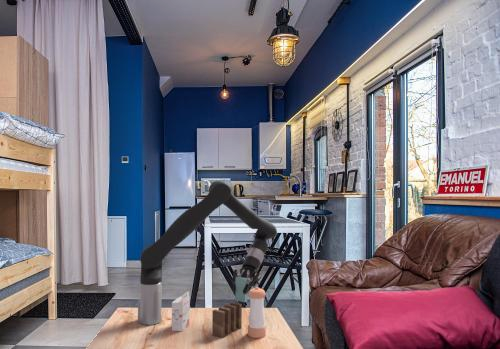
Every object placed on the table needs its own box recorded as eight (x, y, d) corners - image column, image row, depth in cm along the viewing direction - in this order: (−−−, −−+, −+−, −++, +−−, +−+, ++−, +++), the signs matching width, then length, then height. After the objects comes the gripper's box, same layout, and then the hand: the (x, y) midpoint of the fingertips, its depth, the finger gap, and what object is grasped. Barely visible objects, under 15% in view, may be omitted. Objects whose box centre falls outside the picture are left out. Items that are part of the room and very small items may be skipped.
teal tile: (237, 299, 169) (237, 276, 170) (247, 301, 166) (247, 278, 167) (235, 300, 168) (235, 277, 168) (244, 302, 165) (244, 279, 166)
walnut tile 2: (232, 325, 165) (232, 302, 166) (241, 327, 163) (241, 304, 163) (229, 326, 164) (230, 303, 164) (239, 328, 161) (239, 305, 162)
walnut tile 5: (214, 334, 155) (214, 309, 156) (224, 336, 153) (224, 311, 153) (212, 335, 154) (212, 310, 154) (222, 338, 151) (222, 312, 152)
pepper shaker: (251, 339, 150) (252, 290, 151) (245, 332, 157) (245, 285, 158) (268, 336, 153) (268, 288, 154) (261, 330, 160) (261, 284, 161)
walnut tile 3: (226, 328, 162) (226, 304, 163) (236, 330, 159) (236, 306, 160) (224, 329, 161) (224, 305, 161) (233, 331, 158) (234, 307, 158)
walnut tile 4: (220, 331, 159) (220, 306, 159) (230, 333, 156) (230, 308, 156) (218, 332, 157) (218, 307, 158) (228, 334, 155) (228, 309, 155)
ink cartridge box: (178, 323, 167) (179, 289, 168) (189, 324, 166) (190, 290, 167) (171, 330, 159) (171, 295, 159) (182, 331, 158) (182, 295, 158)
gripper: (237, 253, 178) (221, 285, 167) (264, 256, 170) (249, 290, 160) (244, 263, 182) (229, 294, 172) (270, 266, 174) (256, 299, 164)
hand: (238, 292), depth 166 cm, fingers closed on teal tile, 5 cm apart
